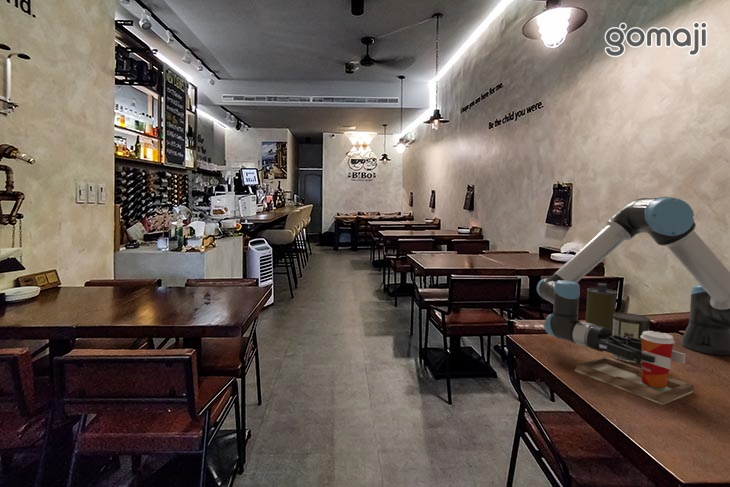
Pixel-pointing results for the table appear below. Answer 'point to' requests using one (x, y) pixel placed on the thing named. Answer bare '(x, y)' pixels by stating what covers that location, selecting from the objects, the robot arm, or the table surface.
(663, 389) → the seat pad
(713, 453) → the table surface
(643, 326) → the coffee can
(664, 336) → the paper cup
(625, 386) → the keyhole slot
